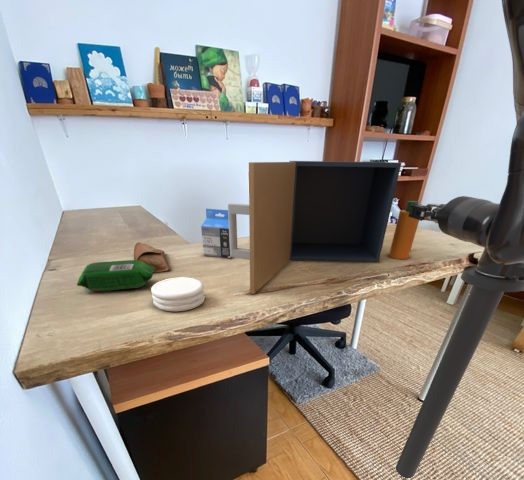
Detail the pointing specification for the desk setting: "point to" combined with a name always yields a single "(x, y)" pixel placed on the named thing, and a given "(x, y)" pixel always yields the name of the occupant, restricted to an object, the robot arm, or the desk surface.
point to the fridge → (341, 210)
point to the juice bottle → (404, 234)
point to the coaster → (178, 294)
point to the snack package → (115, 275)
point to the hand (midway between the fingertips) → (430, 208)
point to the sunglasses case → (151, 257)
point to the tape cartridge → (216, 234)
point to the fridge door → (265, 220)
